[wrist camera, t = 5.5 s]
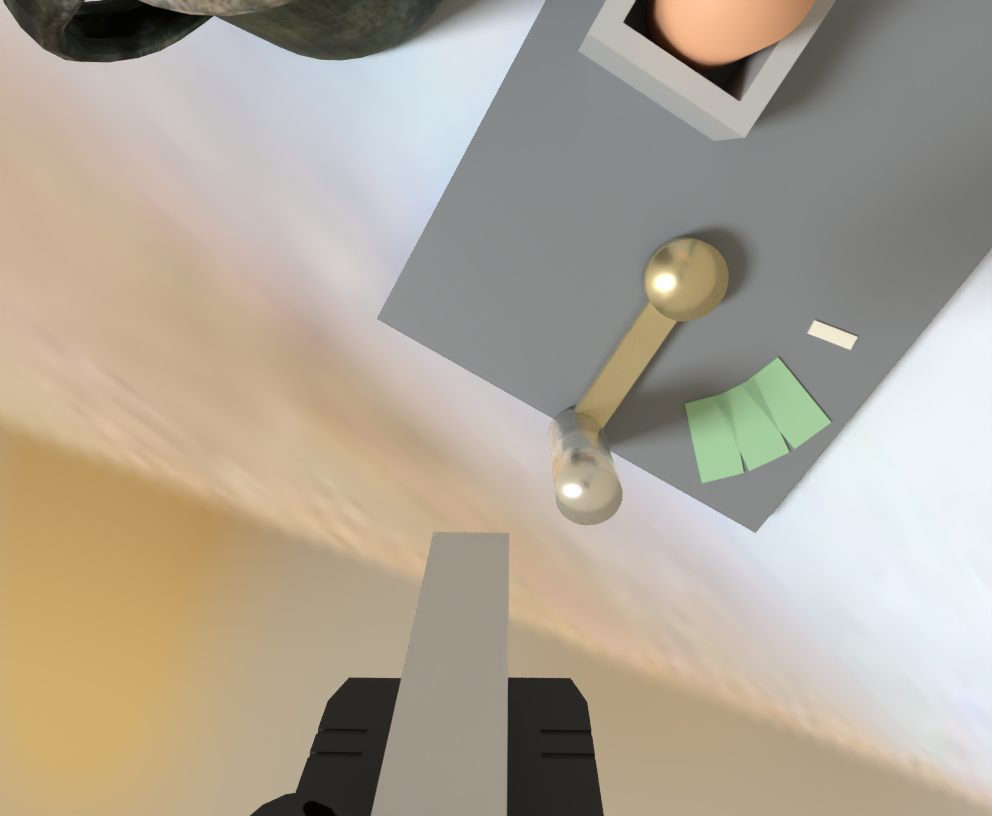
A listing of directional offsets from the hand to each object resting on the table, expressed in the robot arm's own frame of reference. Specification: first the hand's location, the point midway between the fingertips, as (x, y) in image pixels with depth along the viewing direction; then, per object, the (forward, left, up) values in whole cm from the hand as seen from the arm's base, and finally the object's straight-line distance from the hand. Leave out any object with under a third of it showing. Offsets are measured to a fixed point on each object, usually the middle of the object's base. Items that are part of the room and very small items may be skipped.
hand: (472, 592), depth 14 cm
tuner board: (-10, +5, -18) cm, 21 cm away
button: (-15, 0, -15) cm, 22 cm away
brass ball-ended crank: (-3, +5, -17) cm, 17 cm away
